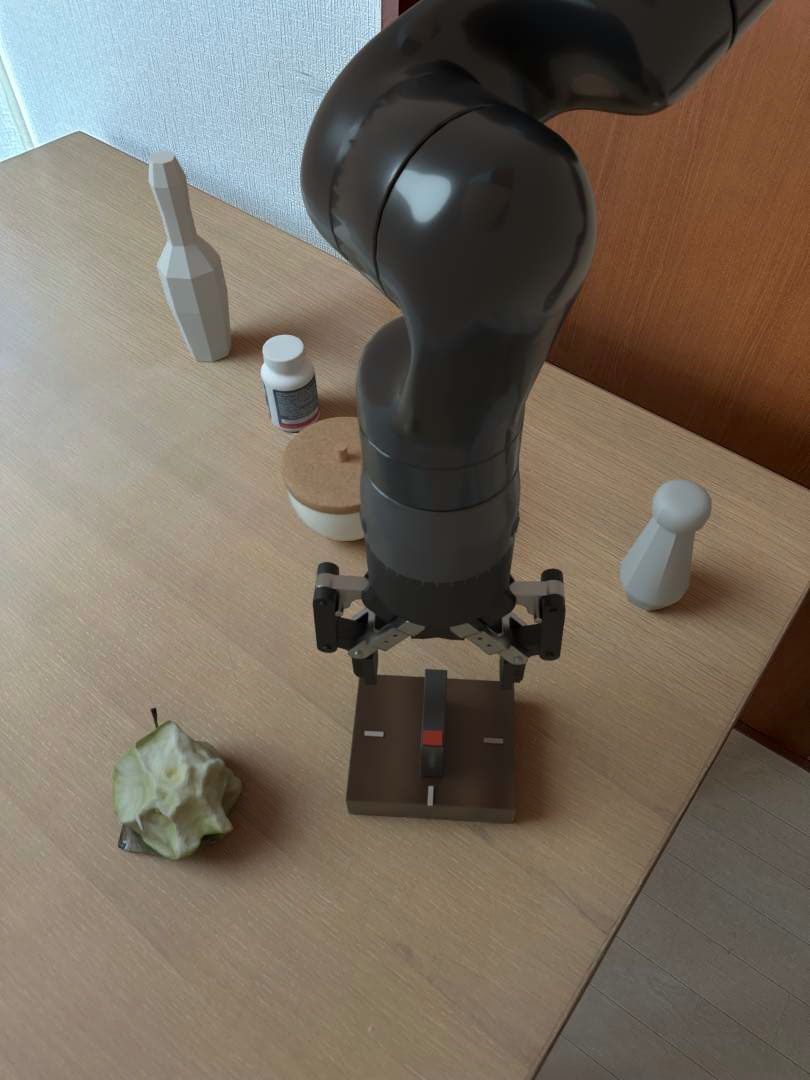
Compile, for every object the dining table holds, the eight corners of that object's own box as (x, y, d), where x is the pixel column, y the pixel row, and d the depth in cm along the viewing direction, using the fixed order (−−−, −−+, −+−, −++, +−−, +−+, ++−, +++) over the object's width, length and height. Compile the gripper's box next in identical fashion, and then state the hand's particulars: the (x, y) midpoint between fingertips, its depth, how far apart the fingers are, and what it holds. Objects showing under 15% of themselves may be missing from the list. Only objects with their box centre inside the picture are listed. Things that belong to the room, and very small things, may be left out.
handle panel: (510, 697, 66) (514, 679, 64) (512, 825, 60) (516, 810, 58) (361, 689, 67) (359, 671, 65) (348, 815, 61) (345, 800, 58)
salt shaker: (616, 559, 74) (648, 460, 64) (681, 569, 74) (724, 471, 63) (612, 613, 71) (645, 518, 61) (681, 624, 70) (726, 530, 60)
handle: (424, 699, 63) (425, 666, 59) (445, 701, 63) (447, 667, 59) (420, 776, 59) (420, 746, 55) (442, 777, 59) (444, 748, 55)
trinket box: (377, 459, 82) (372, 388, 75) (425, 536, 76) (425, 467, 69) (275, 495, 80) (260, 425, 72) (316, 578, 74) (304, 511, 66)
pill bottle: (331, 414, 86) (322, 346, 79) (293, 441, 84) (281, 374, 77) (296, 390, 88) (285, 322, 81) (259, 416, 86) (244, 348, 79)
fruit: (139, 758, 65) (125, 696, 60) (257, 773, 65) (254, 712, 60) (97, 871, 58) (77, 812, 53) (228, 888, 58) (222, 831, 53)
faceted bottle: (184, 371, 90) (127, 180, 73) (179, 335, 94) (125, 144, 77) (242, 362, 91) (200, 170, 74) (235, 326, 95) (194, 135, 77)
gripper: (581, 462, 42) (546, 628, 55) (304, 456, 43) (334, 621, 56) (593, 584, 38) (552, 734, 51) (283, 574, 39) (321, 724, 51)
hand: (437, 674), depth 53 cm, fingers open, 8 cm apart
